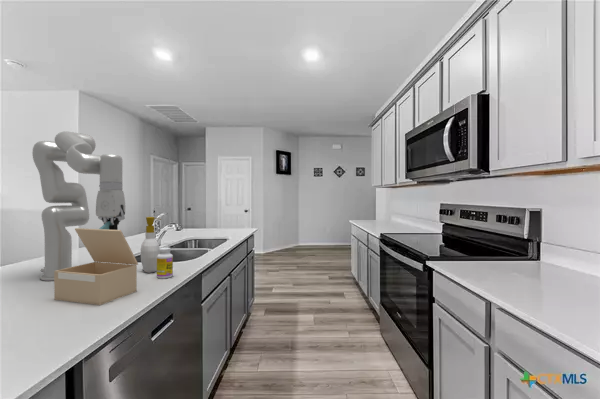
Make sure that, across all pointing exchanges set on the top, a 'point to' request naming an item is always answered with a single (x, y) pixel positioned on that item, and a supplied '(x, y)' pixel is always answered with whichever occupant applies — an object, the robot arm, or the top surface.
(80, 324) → the top surface
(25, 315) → the top surface
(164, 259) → the supplement bottle
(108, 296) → the carton
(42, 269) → the robot arm
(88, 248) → the lid
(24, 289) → the top surface
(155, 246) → the soap bottle
